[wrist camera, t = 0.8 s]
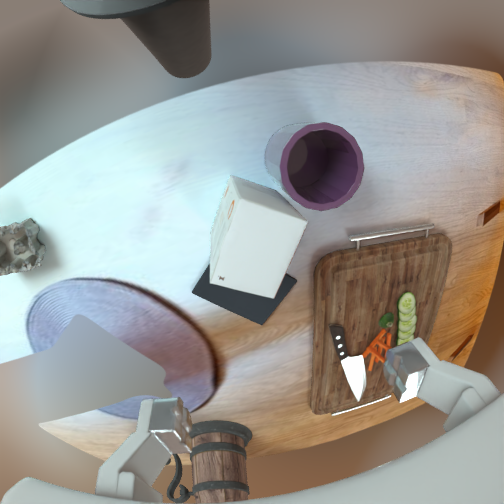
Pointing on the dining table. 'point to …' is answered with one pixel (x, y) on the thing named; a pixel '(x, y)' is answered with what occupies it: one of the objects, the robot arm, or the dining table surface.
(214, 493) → the tankard
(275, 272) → the small box
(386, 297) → the chopping board
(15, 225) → the egg carton
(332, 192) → the plum cup
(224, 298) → the coaster pad
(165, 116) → the dining table surface
